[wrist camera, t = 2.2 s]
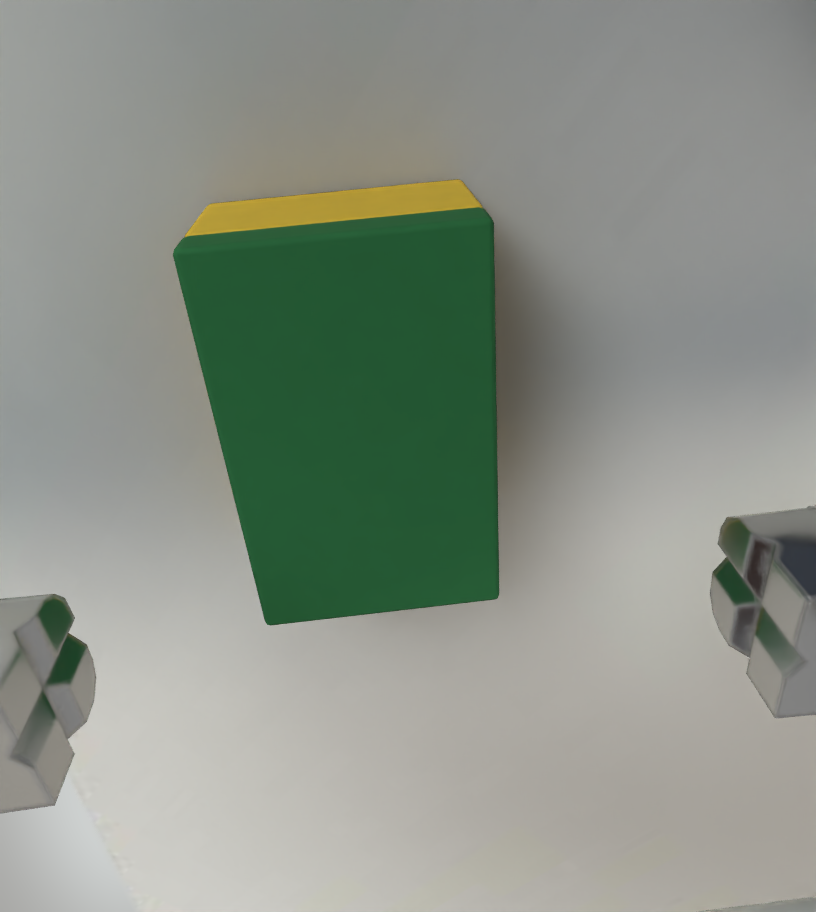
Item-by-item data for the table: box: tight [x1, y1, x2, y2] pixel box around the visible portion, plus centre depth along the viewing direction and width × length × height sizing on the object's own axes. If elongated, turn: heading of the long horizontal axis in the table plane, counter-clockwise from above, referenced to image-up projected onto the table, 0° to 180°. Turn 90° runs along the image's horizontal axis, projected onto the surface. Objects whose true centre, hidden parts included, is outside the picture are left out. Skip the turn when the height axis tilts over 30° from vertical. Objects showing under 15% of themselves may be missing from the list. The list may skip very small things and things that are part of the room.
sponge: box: [173, 179, 499, 625], centre depth 13 cm, size 7×4×3 cm, turn 4°
